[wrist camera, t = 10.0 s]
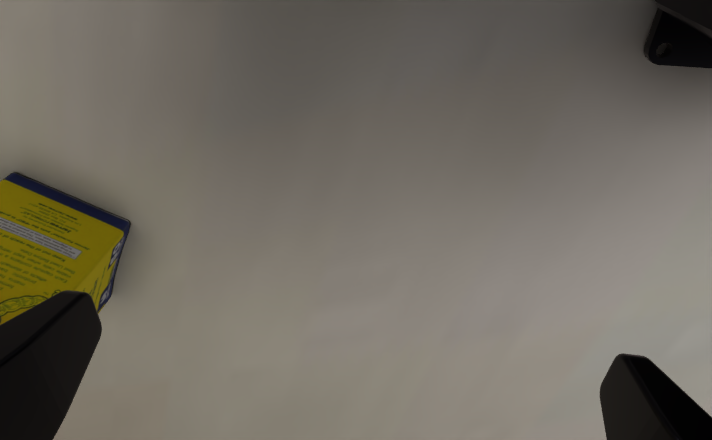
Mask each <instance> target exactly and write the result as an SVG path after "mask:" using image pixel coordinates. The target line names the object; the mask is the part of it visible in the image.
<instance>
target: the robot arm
mask: <svg viewBox="0 0 712 440" xmlns="http://www.w3.org/2000/svg"><path fill="white" fill-rule="evenodd" d="M655 2H656V4H657V5H658V10H657V13H656V16H655V19H654V22H653V24H652V27H651V30H650V33H649V36H648V38H647V41H646V44H645V48H644V54H645V57H646V58H647V59H648V60H650V61H651V62H652V63H654V64H657V65H669V66H685V67H701V68H712V0H655ZM662 43H668V46H667V49H666V50H665V51H664V52H663V53H661V54H656V50H657V48H658V47H659V45H661V44H662ZM101 331H102V326H101V322H100V319H99V316H98V313H97V310H96V307H95V304H94V302H93V299H92V297H91V295H89V294H88V293H86V292H80V291H71V290H65V291H62V292H60V293H58V294H56V295H54V296H52V297H50V298H48V299H47V300H45V301H43V302H41V303H39V304H37V305H36V306H34V307H32V308H30V309H28V310H27V311H25V312H23V313H21V314H19V315H17V316H16V317H14V318H12V319H10V320H8V321H6V322H5V323H3V324H1V325H0V440H53V438H54V436H55V435H56V433H57V431H58V429H59V427H60V425H61V424H62V422H63V420H64V418H65V416H66V414H67V412H68V410H69V407H70V405H71V403H72V401H73V399H74V396H75V394H76V392H77V390H78V387H79V385H80V383H81V380H82V378H83V376H84V374H85V371H86V369H87V367H88V364H89V362H90V360H91V358H92V355H93V353H94V351H95V349H96V346H97V344H98V342H99V339H100V336H101ZM600 401H601V407H602V413H603V419H604V426H605V432H606V438H607V440H712V417H711V416H710V415H709V414H708V413H707V412H705V411H704V410H703V409H702V408H701V407H700V406H699V405H698V404H697V403H696V402H695V401H694V400H693V399H692V398H690V397H689V396H688V395H687V394H686V393H685V392H684V391H683V390H682V389H681V388H680V387H679V386H678V385H677V384H675V383H674V382H673V381H672V380H671V379H670V378H669V377H668V376H667V375H666V374H665V373H664V372H663V371H662V370H660V369H659V368H658V367H657V366H656V365H655V364H654V363H653V362H652V361H651V360H649V359H648V358H646V357H644V356H640V355H631V354H619V355H618V356H616V357H615V359H614V361H613V363H612V365H611V366H610V368H609V370H608V372H607V374H606V376H605V378H604V380H603V382H602V384H601V387H600Z"/></svg>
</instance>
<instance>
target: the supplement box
mask: <svg viewBox="0 0 712 440" xmlns="http://www.w3.org/2000/svg"><path fill="white" fill-rule="evenodd" d="M129 227H130V223H129V221H128V220H126V219H123V218H121V217H118V216H116V215H113V214H111V213H108V212H106V211H103V210H101V209H99V208H96V207H94V206H92V205H90V204H88V203H85V202H83V201H81V200H78V199H76V198H74V197H72V196H69V195H67V194H64V193H62V192H60V191H57V190H55V189H53V188H51V187H48V186H46V185H44V184H41V183H39V182H37V181H34V180H31V179H28V178H26V177H24V176H22V175H20V174H17V173H11V174H10V175H9V176H7V177H6V178H5V179H3V180H2V181H0V325H1V324H3V323H5V322H6V321H8V320H10V319H12V318H14V317H16V316H17V315H19V314H21V313H23V312H25V311H27V310H28V309H30V308H32V307H34V306H36V305H37V304H39V303H41V302H43V301H45V300H47V299H48V298H50V297H52V296H54V295H56V294H58V293H60V292H62V291H65V290H71V291H80V292H86V293H88V294H89V295H91V297H92V299H93V302H94V304H95V307H96V310H97V313H99V312H100V311H101V309H102V308H103V307H104V305H105V304H106V303H107V301H108V300H109V298H110V297H111V291H112V285H113V279H114V276H115V272H116V268H117V265H118V261H119V258H120V254H121V251H122V248H123V245H124V243H125V240H126V238H127V234H128V232H129Z"/></svg>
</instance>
